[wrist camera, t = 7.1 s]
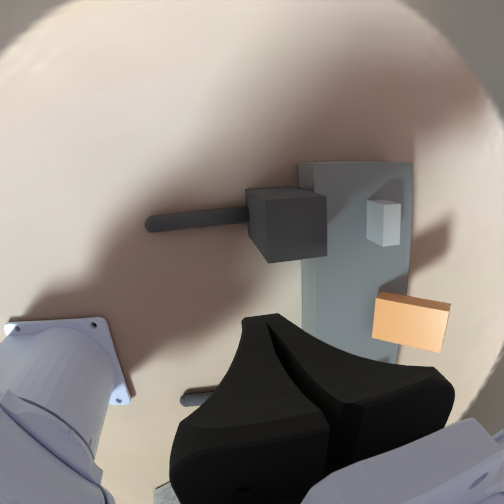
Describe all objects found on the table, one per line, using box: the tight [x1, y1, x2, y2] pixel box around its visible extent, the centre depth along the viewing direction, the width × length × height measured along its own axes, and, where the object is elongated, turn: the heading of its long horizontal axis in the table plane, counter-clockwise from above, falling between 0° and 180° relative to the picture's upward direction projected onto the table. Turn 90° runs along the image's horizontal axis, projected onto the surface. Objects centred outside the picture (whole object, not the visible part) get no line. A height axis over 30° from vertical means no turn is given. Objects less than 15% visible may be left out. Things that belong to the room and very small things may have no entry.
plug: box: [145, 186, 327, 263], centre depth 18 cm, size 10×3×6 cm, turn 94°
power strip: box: [297, 161, 413, 364], centre depth 21 cm, size 7×20×5 cm, turn 4°
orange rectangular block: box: [372, 291, 451, 353], centre depth 19 cm, size 1×3×5 cm
